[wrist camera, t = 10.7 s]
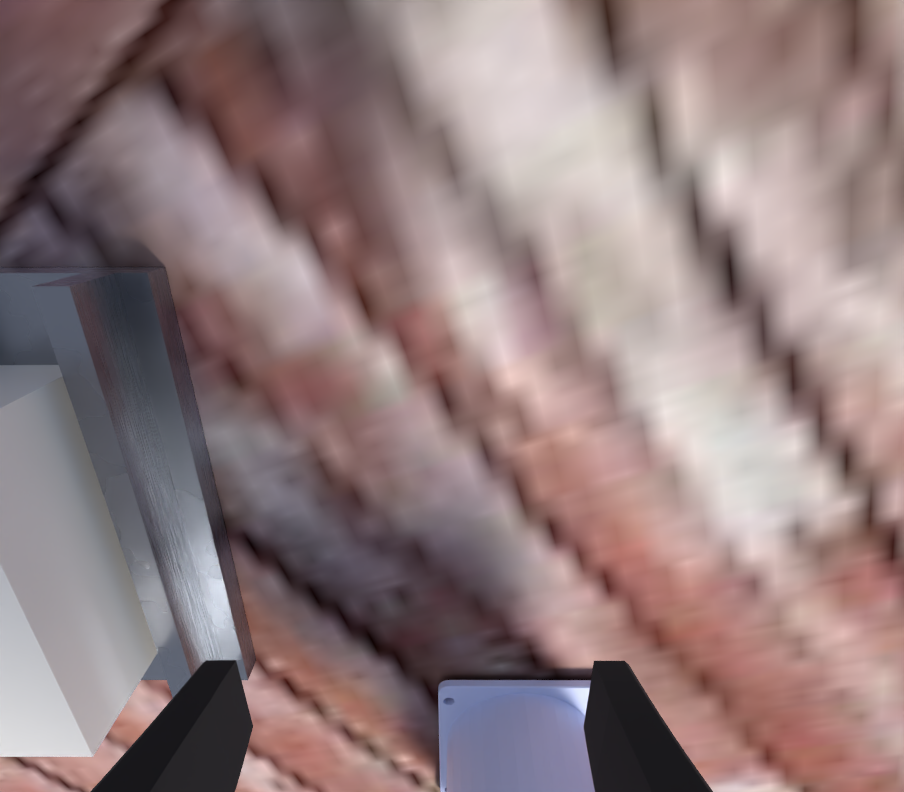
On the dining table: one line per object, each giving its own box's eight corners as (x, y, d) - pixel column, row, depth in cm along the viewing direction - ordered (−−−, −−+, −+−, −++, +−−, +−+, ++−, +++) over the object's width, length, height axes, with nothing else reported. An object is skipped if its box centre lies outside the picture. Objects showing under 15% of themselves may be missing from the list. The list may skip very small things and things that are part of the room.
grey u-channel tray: (256, 660, 23) (229, 725, 20) (64, 659, 23) (11, 724, 21) (164, 267, 16) (104, 286, 13) (-115, 267, 16) (-233, 287, 13)
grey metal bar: (171, 630, 21) (93, 756, 17) (89, 630, 21) (-12, 756, 17) (84, 365, 16) (-60, 439, 12) (-22, 365, 16) (-208, 439, 12)
